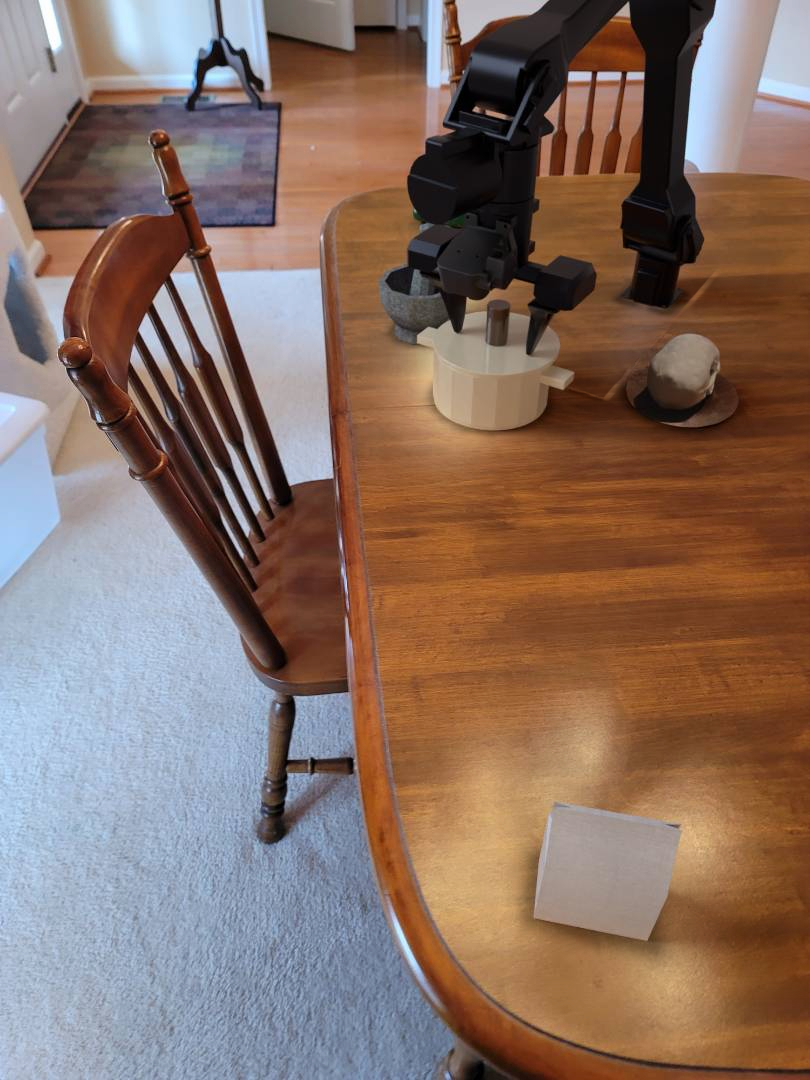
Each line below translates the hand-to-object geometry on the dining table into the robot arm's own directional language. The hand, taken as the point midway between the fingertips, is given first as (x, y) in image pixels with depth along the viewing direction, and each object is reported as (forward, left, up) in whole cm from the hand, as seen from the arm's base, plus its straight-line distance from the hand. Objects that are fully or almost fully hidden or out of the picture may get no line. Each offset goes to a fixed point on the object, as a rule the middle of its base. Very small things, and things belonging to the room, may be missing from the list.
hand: (493, 342), depth 89 cm
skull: (-12, +18, -7) cm, 23 cm away
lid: (-1, 0, -1) cm, 1 cm away
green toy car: (-38, -30, -7) cm, 49 cm away
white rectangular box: (+46, +33, -7) cm, 57 cm away
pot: (0, 0, -7) cm, 7 cm away
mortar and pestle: (-9, -15, -7) cm, 19 cm away
